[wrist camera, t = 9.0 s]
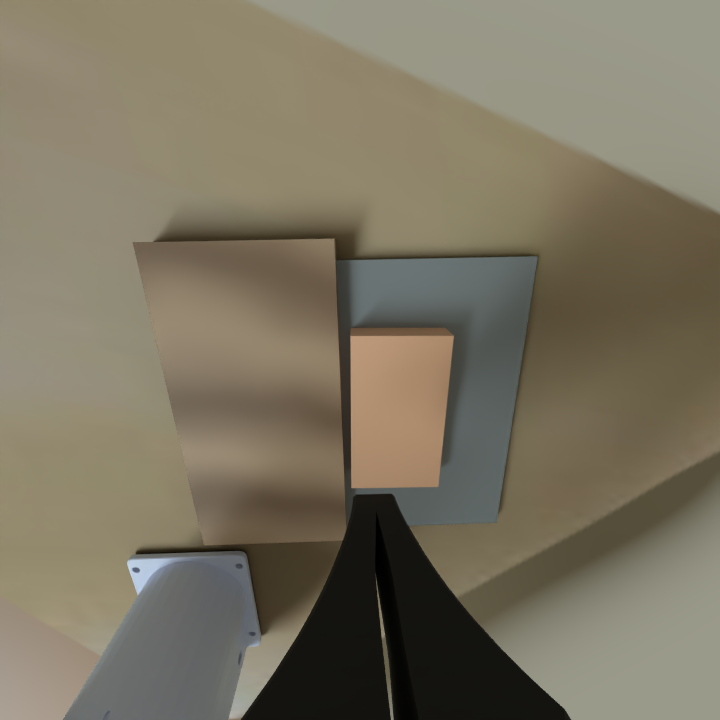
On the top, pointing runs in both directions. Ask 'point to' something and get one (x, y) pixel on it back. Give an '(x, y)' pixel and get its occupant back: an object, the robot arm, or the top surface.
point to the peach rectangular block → (398, 405)
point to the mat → (467, 373)
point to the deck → (253, 383)
